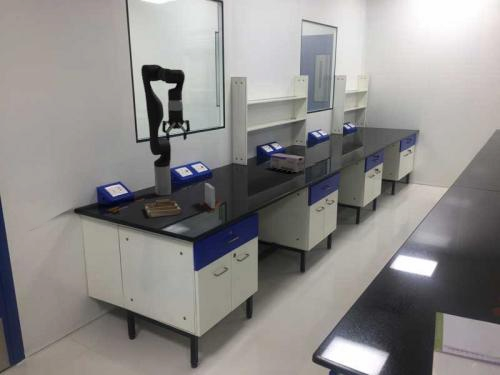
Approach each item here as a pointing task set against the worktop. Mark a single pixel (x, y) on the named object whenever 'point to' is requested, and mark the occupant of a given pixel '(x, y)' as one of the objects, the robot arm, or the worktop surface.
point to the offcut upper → (163, 202)
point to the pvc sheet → (209, 195)
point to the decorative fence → (116, 210)
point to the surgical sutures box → (288, 162)
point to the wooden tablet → (209, 210)
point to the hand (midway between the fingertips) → (176, 140)
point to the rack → (162, 210)
